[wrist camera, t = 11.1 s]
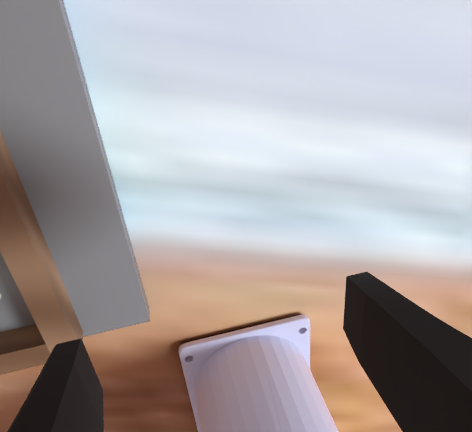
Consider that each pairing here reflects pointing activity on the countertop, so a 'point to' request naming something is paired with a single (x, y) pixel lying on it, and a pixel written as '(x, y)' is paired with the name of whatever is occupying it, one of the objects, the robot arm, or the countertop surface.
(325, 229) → the countertop surface
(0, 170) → the jig board
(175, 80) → the countertop surface
